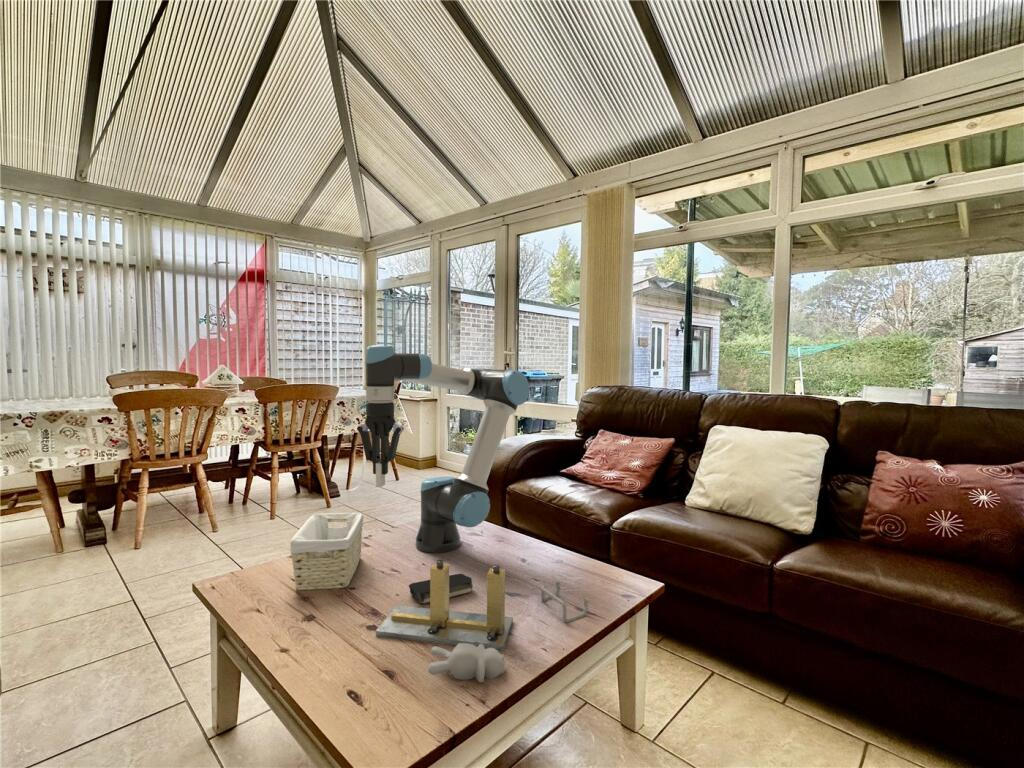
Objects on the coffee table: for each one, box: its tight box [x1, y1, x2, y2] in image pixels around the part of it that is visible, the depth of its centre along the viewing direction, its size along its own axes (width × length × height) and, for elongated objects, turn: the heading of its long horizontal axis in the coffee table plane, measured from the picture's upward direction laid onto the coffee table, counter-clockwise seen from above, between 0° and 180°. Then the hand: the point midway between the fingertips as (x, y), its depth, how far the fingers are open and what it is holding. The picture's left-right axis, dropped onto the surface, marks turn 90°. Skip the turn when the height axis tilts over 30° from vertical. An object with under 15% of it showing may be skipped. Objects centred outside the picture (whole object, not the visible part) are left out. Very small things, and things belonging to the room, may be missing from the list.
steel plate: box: [375, 604, 514, 652], centre depth 116 cm, size 12×30×1 cm, turn 80°
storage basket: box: [289, 511, 364, 591], centre depth 145 cm, size 24×16×15 cm
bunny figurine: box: [428, 643, 506, 684], centre depth 100 cm, size 10×5×15 cm
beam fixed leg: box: [391, 564, 506, 638], centre depth 115 cm, size 6×27×15 cm, turn 80°
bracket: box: [540, 580, 589, 623], centre depth 126 cm, size 13×8×5 cm, turn 33°
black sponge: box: [408, 573, 474, 604], centre depth 134 cm, size 16×8×4 cm, turn 119°
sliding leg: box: [429, 559, 450, 632], centre depth 115 cm, size 6×4×15 cm, turn 170°
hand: (380, 485), depth 137 cm, fingers closed
